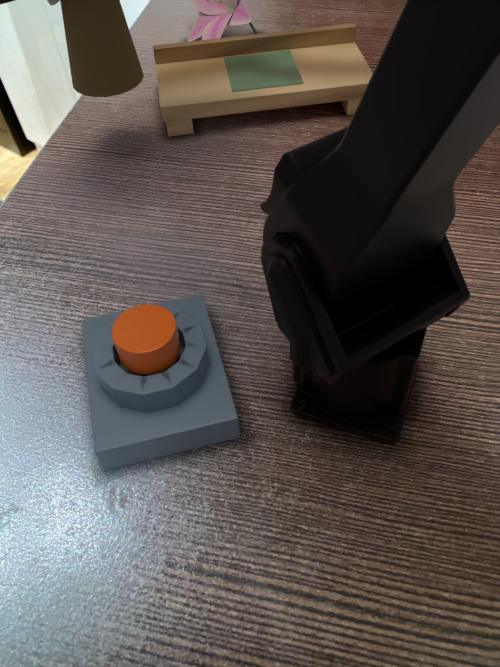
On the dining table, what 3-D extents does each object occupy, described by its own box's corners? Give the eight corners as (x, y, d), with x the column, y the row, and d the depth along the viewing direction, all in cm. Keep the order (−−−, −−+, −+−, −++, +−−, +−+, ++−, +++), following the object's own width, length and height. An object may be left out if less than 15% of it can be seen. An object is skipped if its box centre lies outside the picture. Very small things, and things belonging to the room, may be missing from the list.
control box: (240, 438, 35) (236, 399, 32) (103, 472, 34) (86, 436, 31) (205, 315, 41) (199, 273, 38) (89, 340, 40) (73, 300, 37)
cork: (130, 99, 48) (97, -57, 40) (60, 94, 49) (14, -59, 41) (153, 64, 52) (127, -86, 44) (88, 60, 53) (51, -86, 45)
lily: (197, 25, 73) (154, -40, 65) (286, -19, 69) (252, -95, 61) (206, 101, 69) (160, 41, 61) (301, 59, 65) (267, -12, 57)
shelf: (374, 112, 57) (380, 65, 54) (165, 137, 56) (157, 91, 52) (350, 67, 63) (354, 23, 59) (160, 89, 62) (152, 45, 58)
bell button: (186, 367, 34) (181, 344, 32) (122, 381, 34) (115, 359, 32) (175, 321, 36) (170, 298, 35) (115, 334, 36) (108, 311, 34)
